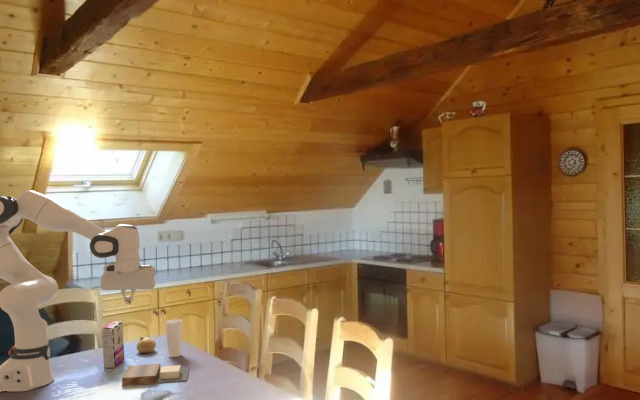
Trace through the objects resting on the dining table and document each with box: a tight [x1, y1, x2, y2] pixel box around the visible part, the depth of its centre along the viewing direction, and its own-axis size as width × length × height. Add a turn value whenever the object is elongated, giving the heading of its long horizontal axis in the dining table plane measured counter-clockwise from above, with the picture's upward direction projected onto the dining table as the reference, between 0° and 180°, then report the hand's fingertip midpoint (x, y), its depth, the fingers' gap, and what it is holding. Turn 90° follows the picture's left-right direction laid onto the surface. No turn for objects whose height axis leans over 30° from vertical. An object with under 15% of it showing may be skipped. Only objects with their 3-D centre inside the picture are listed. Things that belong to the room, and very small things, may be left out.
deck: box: [121, 363, 161, 387], centre depth 215 cm, size 12×14×3 cm
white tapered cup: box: [165, 318, 183, 358], centre depth 242 cm, size 7×7×15 cm
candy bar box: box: [101, 320, 125, 369], centre depth 233 cm, size 11×5×16 cm, turn 0°
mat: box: [156, 367, 190, 384], centre depth 217 cm, size 11×14×1 cm
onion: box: [136, 335, 157, 354], centre depth 249 cm, size 8×8×7 cm
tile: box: [160, 364, 182, 379], centre depth 216 cm, size 7×7×2 cm
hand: (128, 300), depth 222 cm, fingers closed
